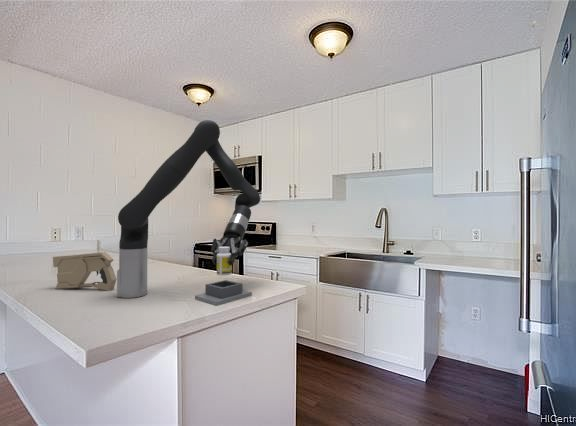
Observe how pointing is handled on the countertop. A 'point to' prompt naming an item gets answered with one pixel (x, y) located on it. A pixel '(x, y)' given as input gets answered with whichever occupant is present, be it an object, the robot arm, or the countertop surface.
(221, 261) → the supplement bottle
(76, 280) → the gun
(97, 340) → the countertop surface
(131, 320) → the countertop surface
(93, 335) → the countertop surface
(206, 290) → the gray socket holder
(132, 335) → the countertop surface
